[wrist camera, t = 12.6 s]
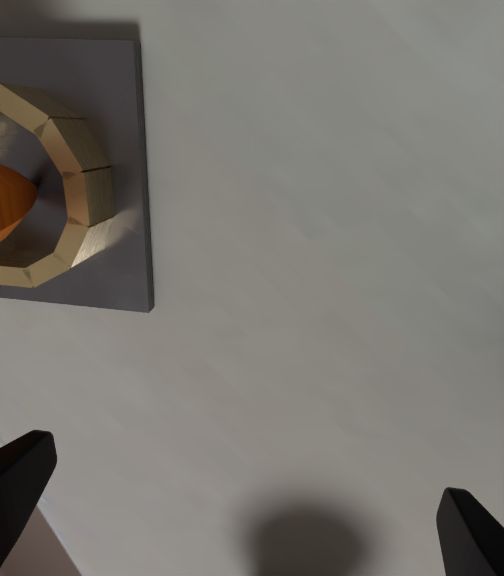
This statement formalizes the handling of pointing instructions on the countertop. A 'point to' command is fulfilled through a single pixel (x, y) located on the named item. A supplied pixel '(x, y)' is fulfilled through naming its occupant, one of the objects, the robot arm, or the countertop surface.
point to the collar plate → (77, 173)
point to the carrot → (14, 199)
